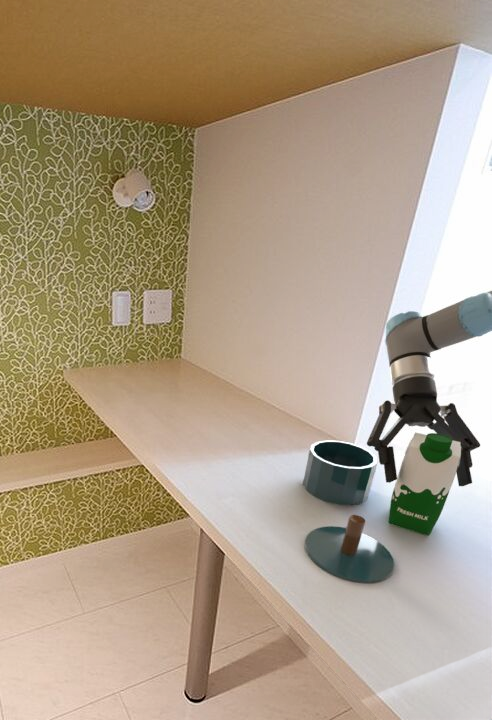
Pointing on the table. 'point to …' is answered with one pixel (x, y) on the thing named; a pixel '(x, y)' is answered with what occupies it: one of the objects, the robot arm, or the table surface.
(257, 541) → the table surface
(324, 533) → the jar lid
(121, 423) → the table surface
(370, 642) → the table surface
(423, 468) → the milk carton
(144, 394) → the table surface
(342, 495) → the jar
